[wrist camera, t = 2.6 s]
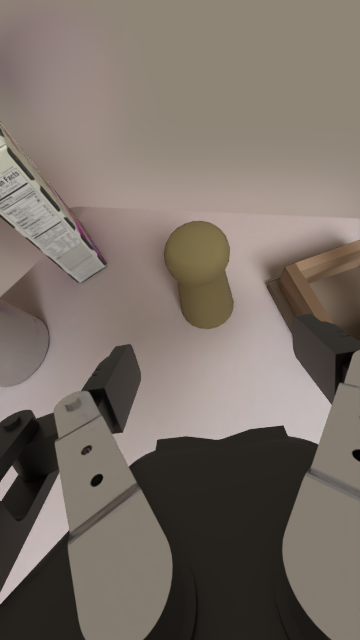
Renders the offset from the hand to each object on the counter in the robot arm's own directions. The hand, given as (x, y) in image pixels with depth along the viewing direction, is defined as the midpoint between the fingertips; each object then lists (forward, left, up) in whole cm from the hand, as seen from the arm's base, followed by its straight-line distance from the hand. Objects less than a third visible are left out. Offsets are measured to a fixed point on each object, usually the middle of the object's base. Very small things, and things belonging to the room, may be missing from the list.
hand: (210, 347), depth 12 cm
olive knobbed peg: (+2, +9, -13) cm, 16 cm away
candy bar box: (-13, +24, -13) cm, 30 cm away
